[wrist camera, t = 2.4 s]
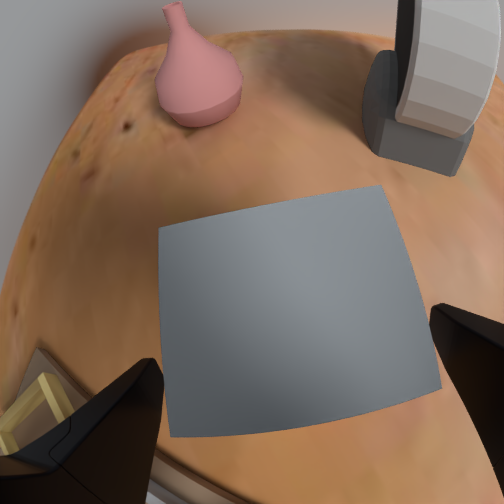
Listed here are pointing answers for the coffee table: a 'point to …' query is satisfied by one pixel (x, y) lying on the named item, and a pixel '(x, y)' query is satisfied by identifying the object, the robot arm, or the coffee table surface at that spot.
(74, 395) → the station board
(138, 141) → the coffee table surface
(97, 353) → the coffee table surface
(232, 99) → the pink vase
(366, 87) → the alarm clock
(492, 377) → the robot arm
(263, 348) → the grey square pillar
